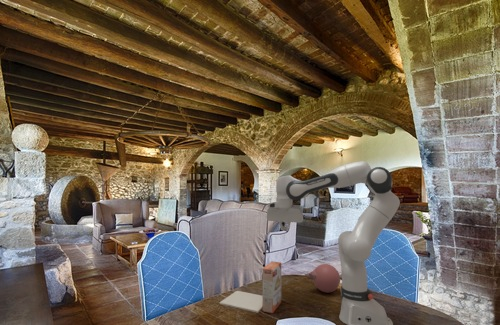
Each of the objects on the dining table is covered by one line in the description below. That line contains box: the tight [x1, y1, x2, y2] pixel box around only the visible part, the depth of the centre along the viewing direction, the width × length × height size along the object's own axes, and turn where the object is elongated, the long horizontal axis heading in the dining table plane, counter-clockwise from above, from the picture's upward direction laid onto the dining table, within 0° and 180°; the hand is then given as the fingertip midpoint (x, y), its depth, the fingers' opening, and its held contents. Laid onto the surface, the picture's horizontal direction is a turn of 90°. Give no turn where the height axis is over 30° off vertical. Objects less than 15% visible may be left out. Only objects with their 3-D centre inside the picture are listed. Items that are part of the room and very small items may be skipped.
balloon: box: [304, 263, 341, 293], centre depth 162 cm, size 15×20×15 cm
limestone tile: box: [219, 290, 263, 314], centre depth 148 cm, size 22×18×1 cm
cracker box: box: [261, 261, 282, 314], centre depth 142 cm, size 14×6×21 cm, turn 157°
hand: (284, 230), depth 152 cm, fingers closed
